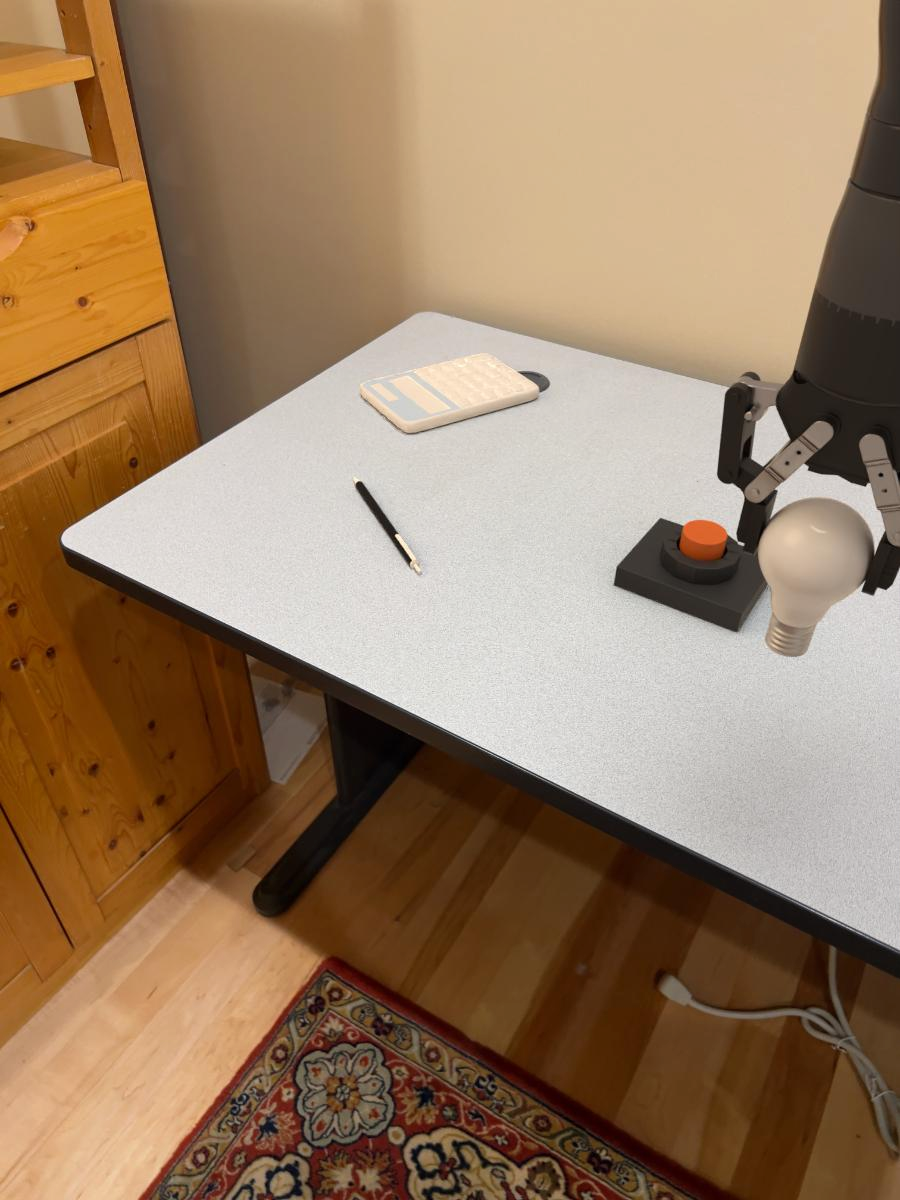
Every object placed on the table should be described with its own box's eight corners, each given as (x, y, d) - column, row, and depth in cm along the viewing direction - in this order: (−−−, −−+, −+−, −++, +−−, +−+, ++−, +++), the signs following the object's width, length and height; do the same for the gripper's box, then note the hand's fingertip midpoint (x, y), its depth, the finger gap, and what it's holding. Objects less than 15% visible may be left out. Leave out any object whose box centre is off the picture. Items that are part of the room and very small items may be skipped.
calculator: (542, 399, 113) (543, 385, 112) (406, 437, 105) (405, 422, 104) (485, 361, 122) (486, 348, 121) (356, 394, 114) (355, 380, 113)
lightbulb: (846, 640, 58) (899, 496, 51) (822, 698, 53) (876, 550, 47) (750, 608, 60) (788, 466, 53) (719, 661, 56) (756, 515, 49)
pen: (415, 577, 84) (415, 568, 83) (350, 481, 97) (349, 472, 97) (424, 575, 84) (424, 565, 83) (357, 479, 98) (357, 470, 97)
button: (729, 546, 82) (734, 528, 81) (713, 567, 79) (718, 549, 78) (688, 532, 84) (692, 514, 82) (672, 553, 81) (675, 534, 80)
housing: (773, 576, 84) (783, 541, 82) (736, 632, 78) (746, 597, 75) (656, 535, 89) (663, 502, 87) (613, 585, 83) (618, 550, 80)
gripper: (726, 280, 43) (672, 558, 53) (1061, 346, 37) (925, 646, 47) (775, 241, 48) (717, 503, 58) (1077, 293, 42) (952, 576, 52)
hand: (810, 566), depth 53 cm, fingers closed on lightbulb, 6 cm apart
